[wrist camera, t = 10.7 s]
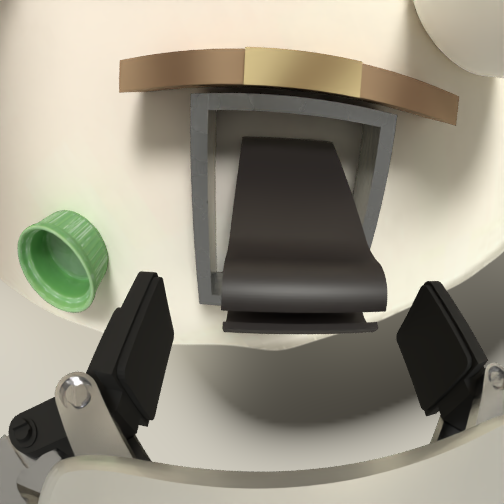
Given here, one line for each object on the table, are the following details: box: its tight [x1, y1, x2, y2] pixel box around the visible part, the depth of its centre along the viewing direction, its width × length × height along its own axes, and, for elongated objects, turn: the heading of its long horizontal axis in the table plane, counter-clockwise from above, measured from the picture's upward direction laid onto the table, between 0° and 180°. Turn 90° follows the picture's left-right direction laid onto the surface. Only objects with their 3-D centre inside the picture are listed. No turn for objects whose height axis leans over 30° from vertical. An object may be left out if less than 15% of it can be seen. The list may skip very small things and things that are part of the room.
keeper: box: [190, 93, 397, 305], centre depth 18 cm, size 12×15×3 cm
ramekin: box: [18, 210, 108, 313], centre depth 21 cm, size 9×9×4 cm
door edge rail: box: [119, 47, 459, 126], centre depth 13 cm, size 20×2×4 cm, turn 87°
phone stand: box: [221, 137, 387, 334], centre depth 15 cm, size 9×6×12 cm, turn 178°
